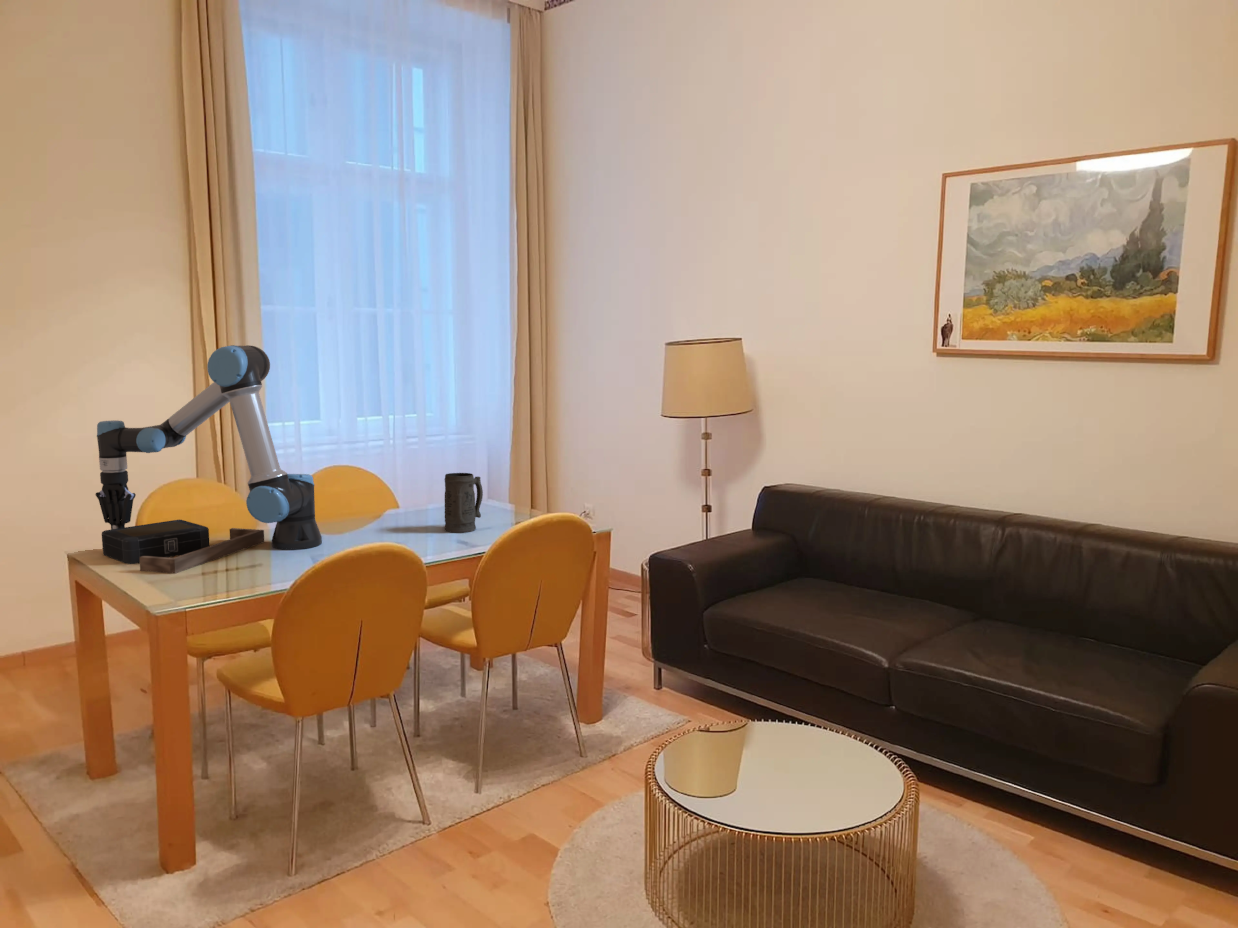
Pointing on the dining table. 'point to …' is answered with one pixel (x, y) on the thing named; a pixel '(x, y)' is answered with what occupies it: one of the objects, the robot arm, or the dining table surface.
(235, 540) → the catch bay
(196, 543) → the cash box
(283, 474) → the robot arm
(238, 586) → the dining table surface
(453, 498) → the beer stein
